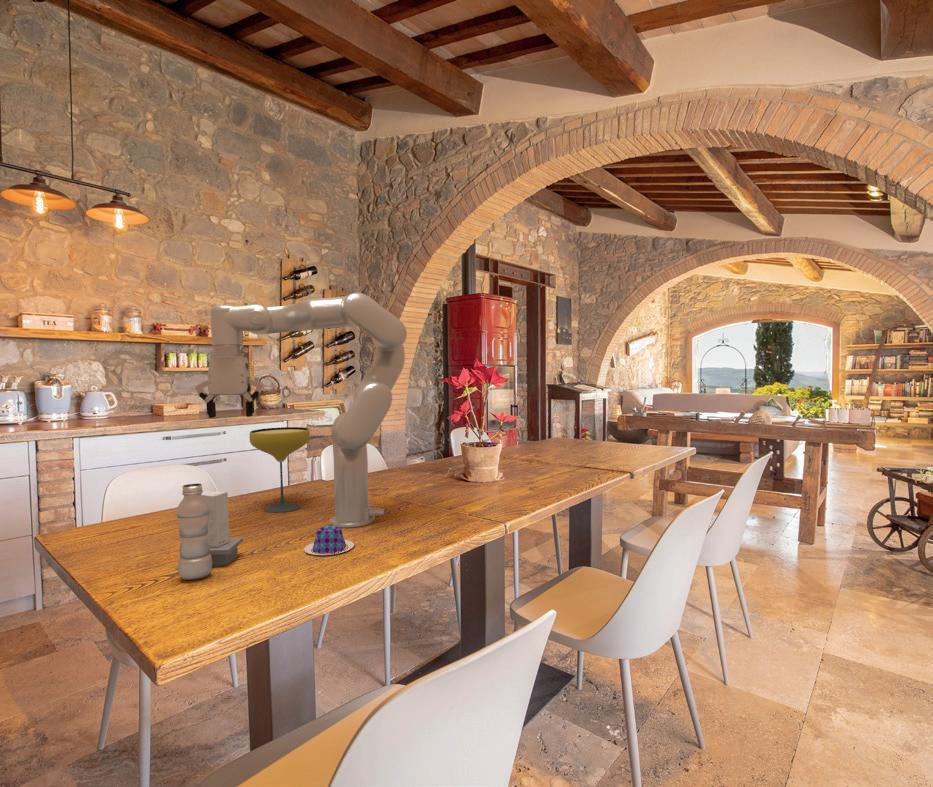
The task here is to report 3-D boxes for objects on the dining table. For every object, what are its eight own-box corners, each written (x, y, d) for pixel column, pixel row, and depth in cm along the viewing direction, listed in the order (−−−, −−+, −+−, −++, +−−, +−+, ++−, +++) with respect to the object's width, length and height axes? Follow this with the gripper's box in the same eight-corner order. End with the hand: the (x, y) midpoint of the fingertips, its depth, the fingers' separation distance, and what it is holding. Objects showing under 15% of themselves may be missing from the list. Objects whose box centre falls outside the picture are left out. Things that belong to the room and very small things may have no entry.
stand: (243, 553, 132) (242, 537, 132) (228, 567, 123) (228, 549, 123) (201, 555, 132) (200, 538, 132) (183, 568, 123) (182, 551, 123)
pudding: (356, 540, 142) (355, 520, 142) (351, 556, 130) (350, 534, 130) (308, 543, 141) (308, 522, 141) (299, 559, 129) (298, 537, 129)
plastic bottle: (185, 572, 121) (182, 482, 120) (217, 571, 121) (214, 481, 120) (172, 584, 114) (168, 489, 113) (206, 582, 115) (202, 487, 114)
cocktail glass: (320, 509, 173) (317, 430, 172) (260, 519, 163) (257, 435, 161) (301, 498, 188) (299, 425, 186) (245, 507, 177) (243, 430, 176)
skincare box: (230, 542, 129) (228, 491, 128) (217, 548, 125) (214, 495, 124) (209, 540, 131) (207, 490, 130) (195, 545, 126) (193, 494, 126)
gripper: (265, 352, 150) (268, 414, 151) (200, 353, 149) (203, 416, 149) (257, 351, 142) (260, 417, 143) (188, 352, 141) (191, 419, 142)
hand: (231, 416), depth 146 cm, fingers open, 9 cm apart
